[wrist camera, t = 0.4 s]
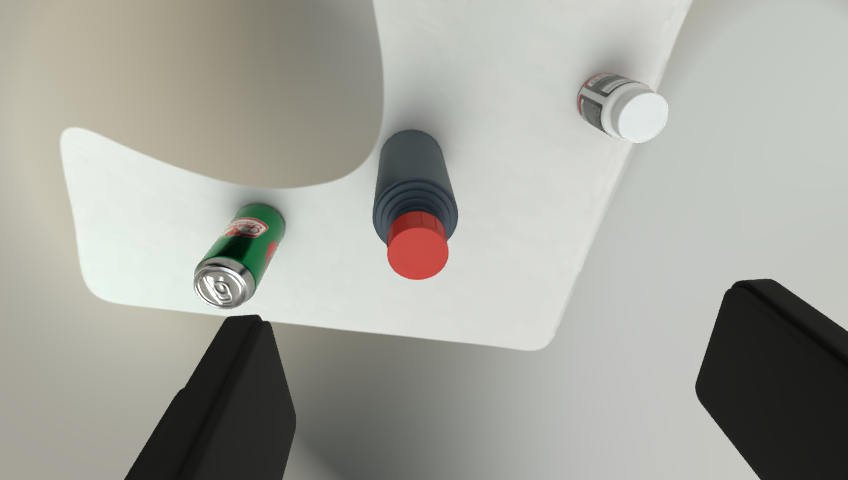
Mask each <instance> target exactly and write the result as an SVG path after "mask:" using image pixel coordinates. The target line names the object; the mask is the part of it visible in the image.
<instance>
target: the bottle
mask: <svg viewBox="0 0 848 480" xmlns="http://www.w3.org/2000/svg"><path fill="white" fill-rule="evenodd" d="M415 211H420V212H421V211H422V212H426V213H429V214H431V215H433V216H434V217H436V218H437V219H438V220H439V221H440V222H441V224H442V225H443V227H444V228H445V233H446V238H447V241H448V239H449V238H450V237H451V236H452V234H453V232H454V230H455V228H456V225H457V221H458V210H457V205H456V201H455V198H454V194H453V190H452V187H451V183H450V180H449V176H448V172H447V169H446V165H445V161H444V158H443V154H442V151H441V148H440V146H439V145H438V143H437V142H436V140H435V139H434V138H432V137H431V136H430V135H428V134H426V133H424V132H422V131H418V130H405V131H401V132H399V133H397V134H395V135H393V136H392V137H391V138H389V139H388V141H387V142H386V143H385V145H384V146H383V148H382V151H381V154H380V161H379V168H378V176H377V184H376V191H375V199H374V206H373V224H374V228H375V230H376V232H377V234H378V236H379V237H380V238H381V240H382V241H383V242H384V243H385V244H386V245H387V235H388V234H389V230H390V227H391V225H392V224H393V221H395V220H396V219H397V218H399V217H400V216H402V215H404V214H405V213H409V212H415Z"/></svg>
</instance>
